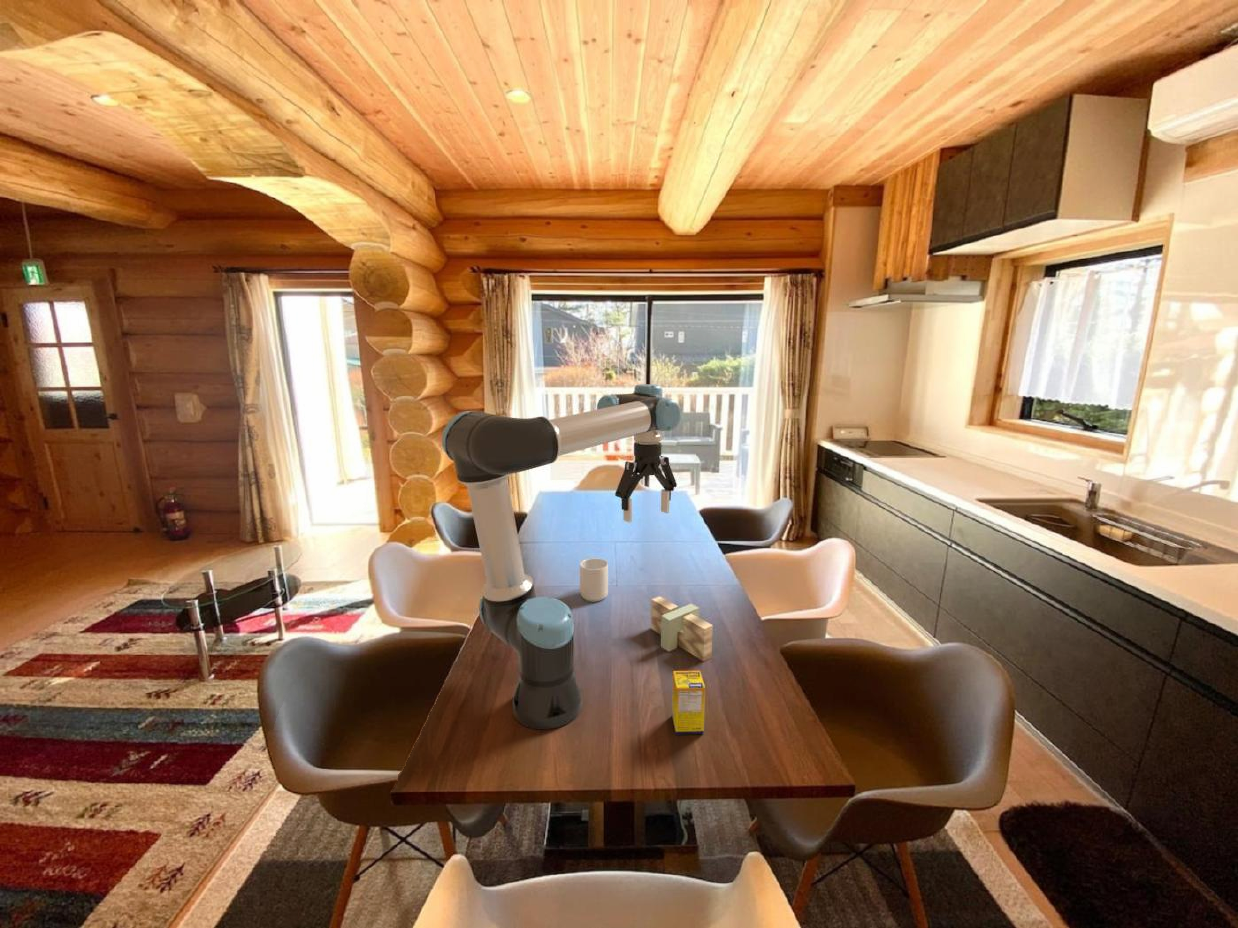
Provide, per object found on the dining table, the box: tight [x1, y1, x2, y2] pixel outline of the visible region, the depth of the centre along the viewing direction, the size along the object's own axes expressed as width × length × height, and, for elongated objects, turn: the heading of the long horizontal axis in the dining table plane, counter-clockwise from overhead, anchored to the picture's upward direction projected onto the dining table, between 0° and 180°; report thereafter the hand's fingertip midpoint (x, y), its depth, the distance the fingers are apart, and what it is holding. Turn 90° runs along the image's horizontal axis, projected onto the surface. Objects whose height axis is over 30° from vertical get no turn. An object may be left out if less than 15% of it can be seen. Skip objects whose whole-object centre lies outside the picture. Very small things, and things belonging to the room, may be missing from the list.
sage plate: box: [660, 603, 700, 652], centre depth 139 cm, size 11×3×9 cm, turn 128°
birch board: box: [650, 595, 714, 662], centre depth 139 cm, size 20×3×9 cm, turn 38°
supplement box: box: [671, 670, 706, 736], centre depth 107 cm, size 6×6×11 cm
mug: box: [579, 558, 609, 603], centre depth 166 cm, size 12×9×11 cm
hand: (646, 516), depth 145 cm, fingers open, 13 cm apart
